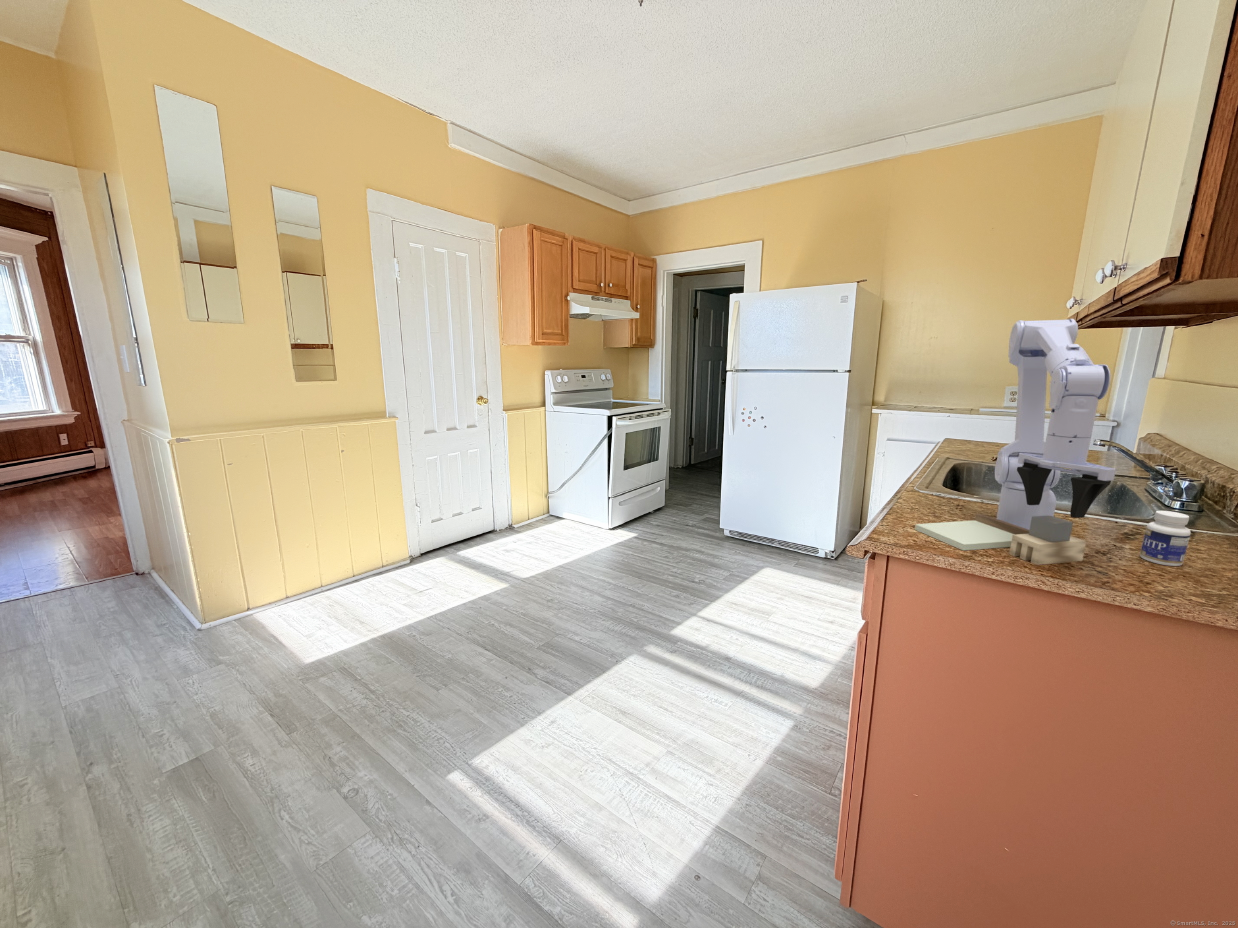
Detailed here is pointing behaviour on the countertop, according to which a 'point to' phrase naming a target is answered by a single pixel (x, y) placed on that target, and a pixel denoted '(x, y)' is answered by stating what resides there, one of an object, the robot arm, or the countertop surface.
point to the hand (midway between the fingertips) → (1054, 510)
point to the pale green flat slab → (973, 532)
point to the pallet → (1047, 549)
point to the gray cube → (1050, 528)
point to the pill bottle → (1166, 539)
